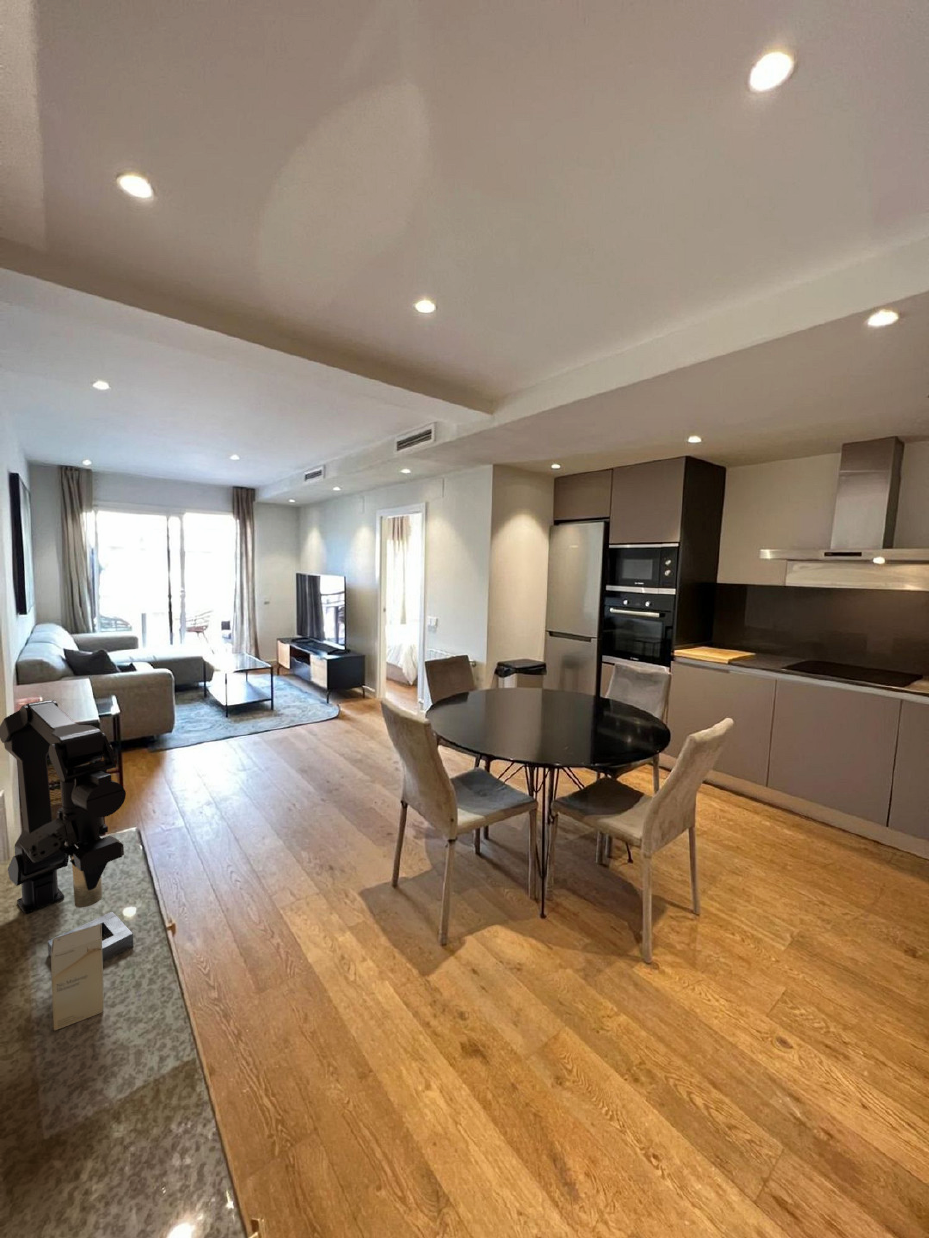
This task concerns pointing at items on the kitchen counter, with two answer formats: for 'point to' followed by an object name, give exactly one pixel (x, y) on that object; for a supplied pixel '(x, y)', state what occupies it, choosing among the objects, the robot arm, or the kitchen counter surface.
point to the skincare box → (77, 976)
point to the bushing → (84, 890)
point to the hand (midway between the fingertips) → (87, 884)
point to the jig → (108, 935)
